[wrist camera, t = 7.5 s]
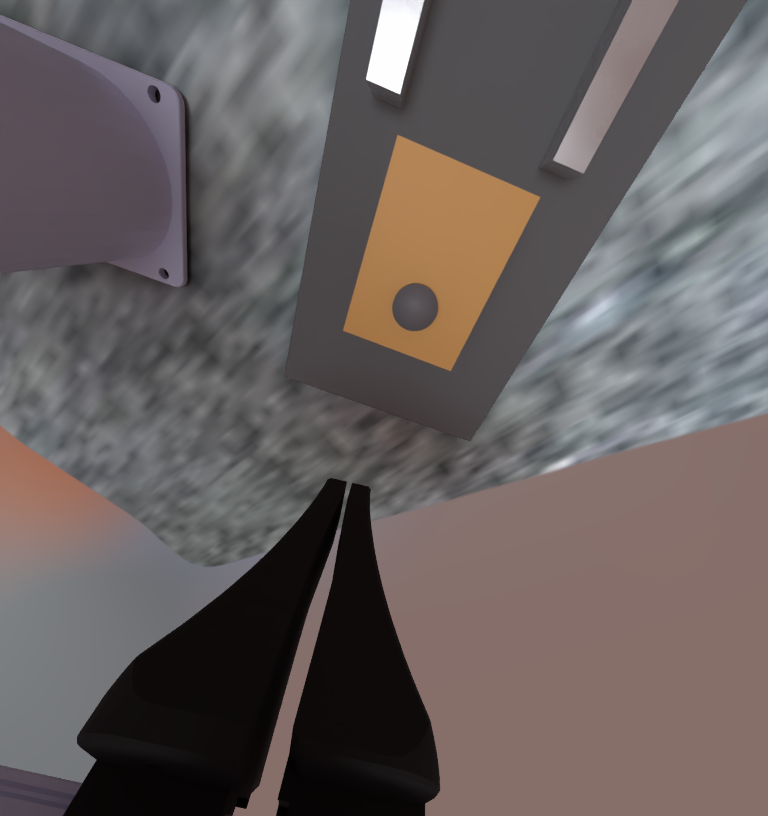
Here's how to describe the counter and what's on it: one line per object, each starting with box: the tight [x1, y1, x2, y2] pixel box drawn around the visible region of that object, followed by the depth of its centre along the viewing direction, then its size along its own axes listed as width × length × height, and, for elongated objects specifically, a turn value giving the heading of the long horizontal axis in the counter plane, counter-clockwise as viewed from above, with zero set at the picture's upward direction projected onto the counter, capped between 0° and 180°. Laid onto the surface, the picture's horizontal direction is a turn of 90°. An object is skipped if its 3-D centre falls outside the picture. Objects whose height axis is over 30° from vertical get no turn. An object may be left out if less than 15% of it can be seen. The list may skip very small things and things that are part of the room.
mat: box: [284, 0, 747, 441], centre depth 12 cm, size 12×27×1 cm, turn 161°
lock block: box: [343, 135, 540, 371], centre depth 12 cm, size 4×6×5 cm
